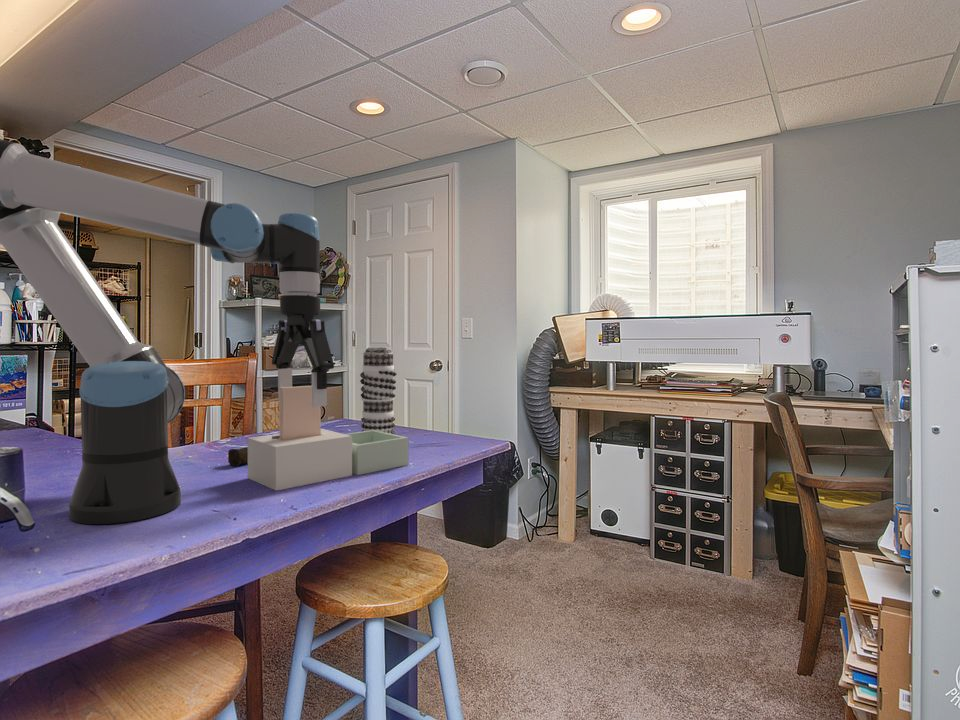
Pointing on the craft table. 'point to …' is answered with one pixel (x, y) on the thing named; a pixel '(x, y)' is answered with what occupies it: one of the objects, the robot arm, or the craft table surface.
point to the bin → (378, 451)
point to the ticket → (298, 413)
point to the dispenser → (299, 459)
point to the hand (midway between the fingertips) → (301, 403)
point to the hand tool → (238, 456)
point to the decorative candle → (378, 390)
